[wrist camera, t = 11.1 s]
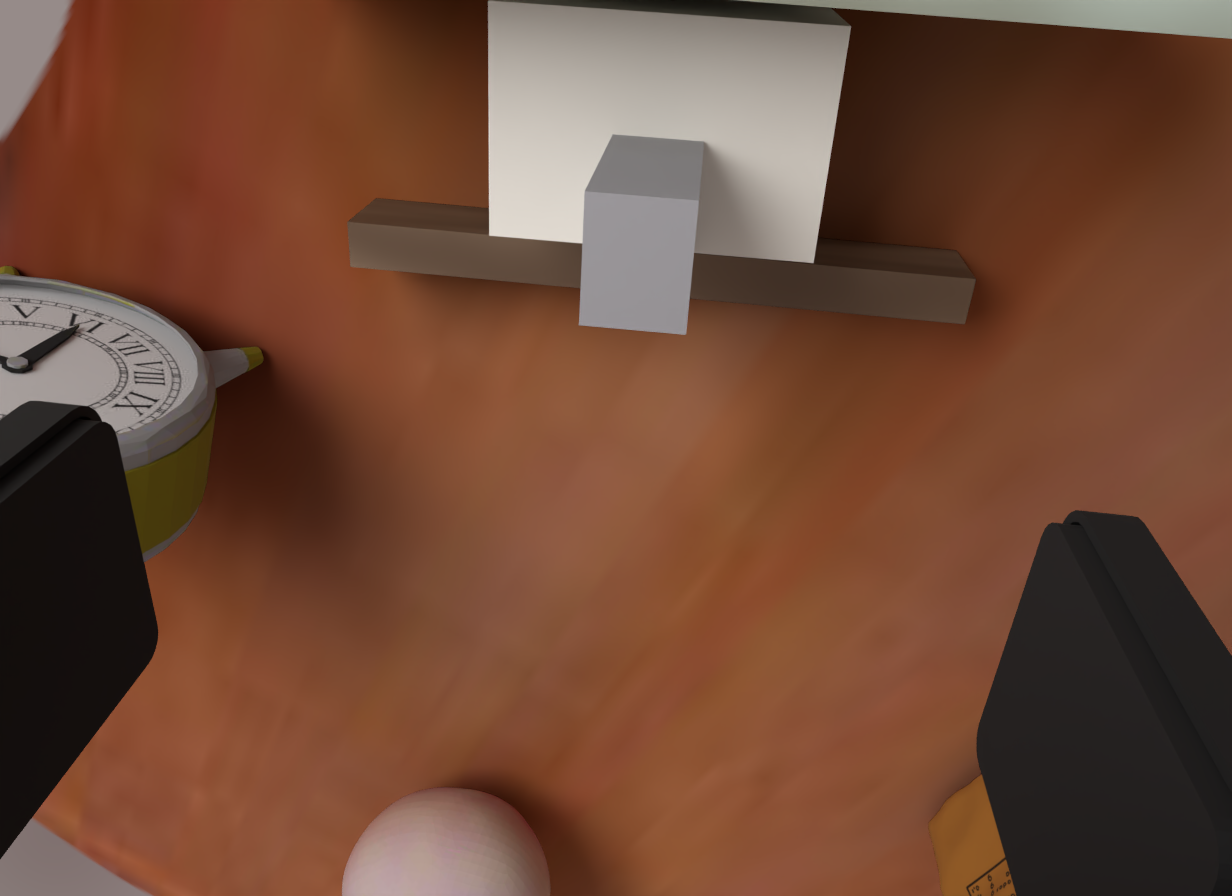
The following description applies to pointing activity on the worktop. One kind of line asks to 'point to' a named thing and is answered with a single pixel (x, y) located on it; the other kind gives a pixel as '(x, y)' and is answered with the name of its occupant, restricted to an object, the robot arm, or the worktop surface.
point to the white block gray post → (660, 139)
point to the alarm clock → (121, 387)
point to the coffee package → (969, 845)
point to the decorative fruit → (447, 849)
